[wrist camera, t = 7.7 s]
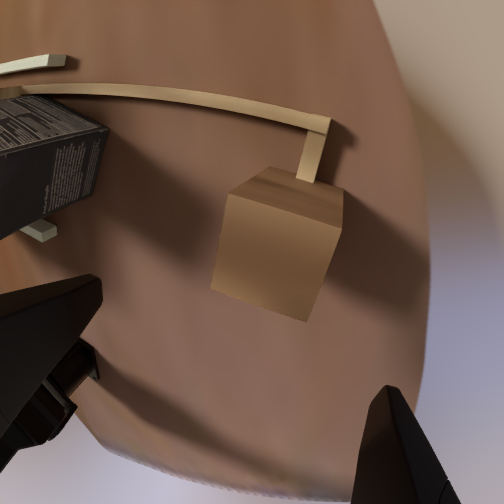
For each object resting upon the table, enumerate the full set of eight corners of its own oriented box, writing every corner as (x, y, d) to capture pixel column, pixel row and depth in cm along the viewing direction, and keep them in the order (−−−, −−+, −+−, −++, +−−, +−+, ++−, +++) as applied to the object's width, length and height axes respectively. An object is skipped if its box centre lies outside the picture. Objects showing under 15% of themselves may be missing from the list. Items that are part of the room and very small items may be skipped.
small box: (27, 154, 23) (-60, 184, 14) (40, 91, 20) (-57, 107, 11) (92, 201, 23) (-10, 251, 14) (112, 127, 20) (-11, 153, 11)
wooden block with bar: (306, 297, 21) (285, 369, 15) (23, 193, 25) (-28, 215, 19) (361, 128, 15) (373, 131, 9) (27, 84, 20) (-32, 92, 14)
